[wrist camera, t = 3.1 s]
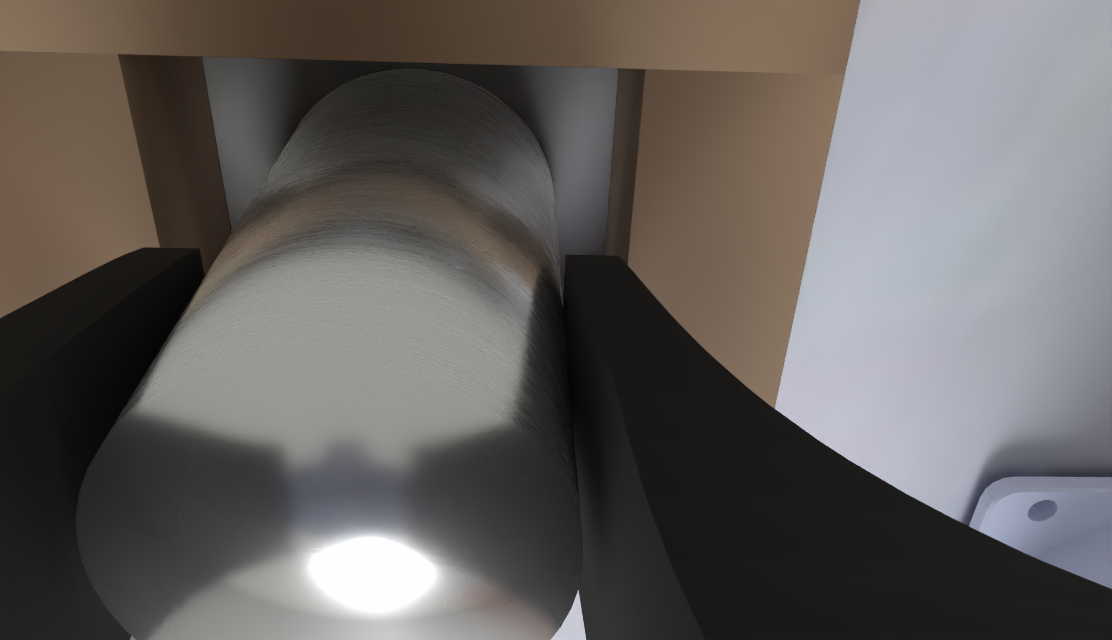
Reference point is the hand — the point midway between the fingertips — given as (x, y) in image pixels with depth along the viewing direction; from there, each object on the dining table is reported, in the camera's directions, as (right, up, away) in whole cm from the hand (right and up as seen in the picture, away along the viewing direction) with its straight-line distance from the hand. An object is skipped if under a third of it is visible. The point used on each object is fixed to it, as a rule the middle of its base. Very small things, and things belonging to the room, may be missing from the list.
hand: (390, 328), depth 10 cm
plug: (0, +2, +3) cm, 3 cm away
